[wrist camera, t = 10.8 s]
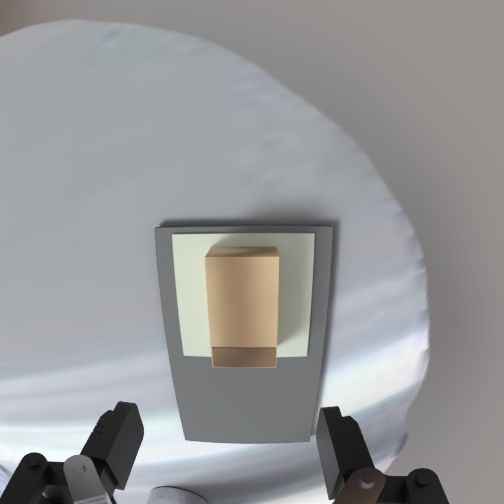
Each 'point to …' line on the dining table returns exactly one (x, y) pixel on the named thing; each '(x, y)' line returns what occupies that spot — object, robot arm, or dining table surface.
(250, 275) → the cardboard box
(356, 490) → the robot arm
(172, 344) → the mat
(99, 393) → the dining table surface
